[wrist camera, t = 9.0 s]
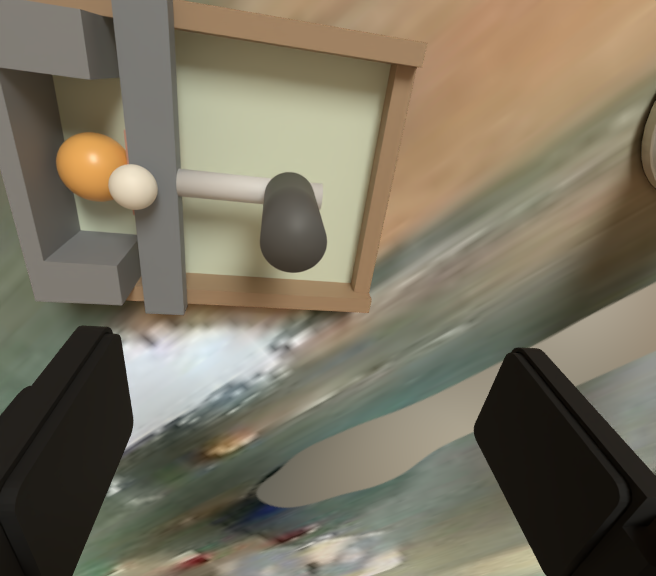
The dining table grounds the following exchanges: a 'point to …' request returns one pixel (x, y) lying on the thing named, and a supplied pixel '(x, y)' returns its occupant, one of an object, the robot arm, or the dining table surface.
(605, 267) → the dining table surface
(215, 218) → the foosball lane
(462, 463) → the dining table surface
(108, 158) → the ball
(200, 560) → the dining table surface
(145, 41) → the kicker rod
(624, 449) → the robot arm
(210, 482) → the dining table surface
